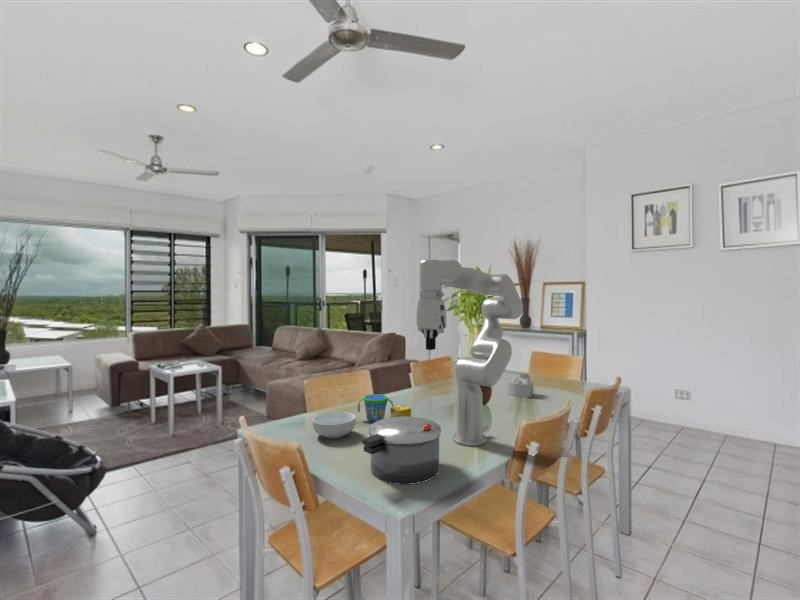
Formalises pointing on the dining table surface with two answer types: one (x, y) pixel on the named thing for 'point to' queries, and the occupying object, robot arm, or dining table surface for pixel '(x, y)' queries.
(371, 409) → the snack cup
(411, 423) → the lid
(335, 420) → the cereal bowl
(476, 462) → the dining table surface
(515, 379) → the lumpy-topped squat cylinder
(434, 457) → the cooker
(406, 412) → the supplement box
